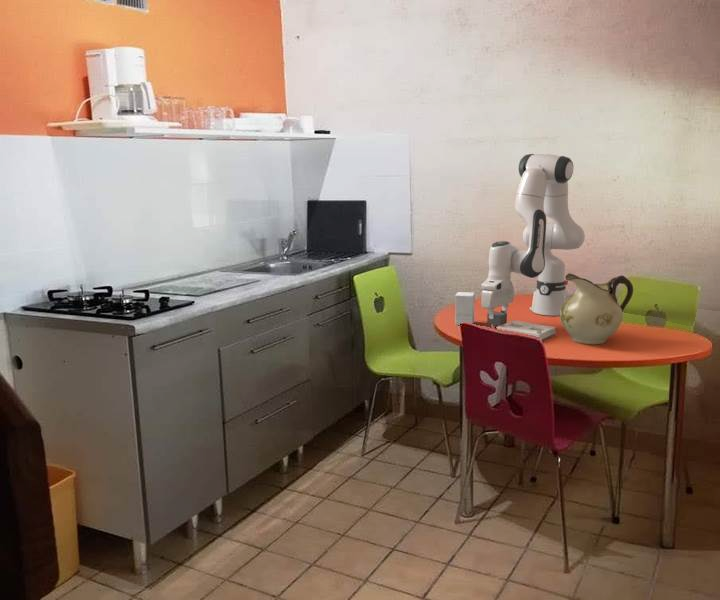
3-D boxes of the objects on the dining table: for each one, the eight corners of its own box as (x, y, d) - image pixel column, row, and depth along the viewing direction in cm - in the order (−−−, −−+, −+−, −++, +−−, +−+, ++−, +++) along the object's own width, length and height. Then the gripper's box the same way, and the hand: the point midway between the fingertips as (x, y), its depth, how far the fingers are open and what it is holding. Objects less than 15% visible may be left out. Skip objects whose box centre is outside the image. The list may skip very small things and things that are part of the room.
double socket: (513, 327, 286) (514, 319, 285) (555, 334, 274) (555, 326, 274) (496, 334, 276) (496, 325, 275) (538, 342, 264) (538, 333, 263)
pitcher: (547, 340, 266) (551, 275, 261) (575, 328, 283) (580, 267, 278) (604, 352, 251) (610, 283, 246) (631, 339, 268) (637, 274, 263)
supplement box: (474, 321, 296) (475, 292, 293) (472, 326, 289) (473, 295, 286) (456, 320, 297) (457, 291, 295) (454, 325, 290) (455, 295, 288)
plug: (493, 325, 289) (493, 311, 288) (506, 327, 285) (507, 313, 284) (487, 327, 286) (487, 313, 284) (500, 330, 282) (500, 315, 280)
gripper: (504, 278, 291) (503, 311, 293) (479, 285, 275) (477, 319, 278) (518, 280, 287) (517, 313, 289) (493, 287, 271) (492, 322, 274)
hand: (497, 316), depth 284 cm, fingers open, 8 cm apart
